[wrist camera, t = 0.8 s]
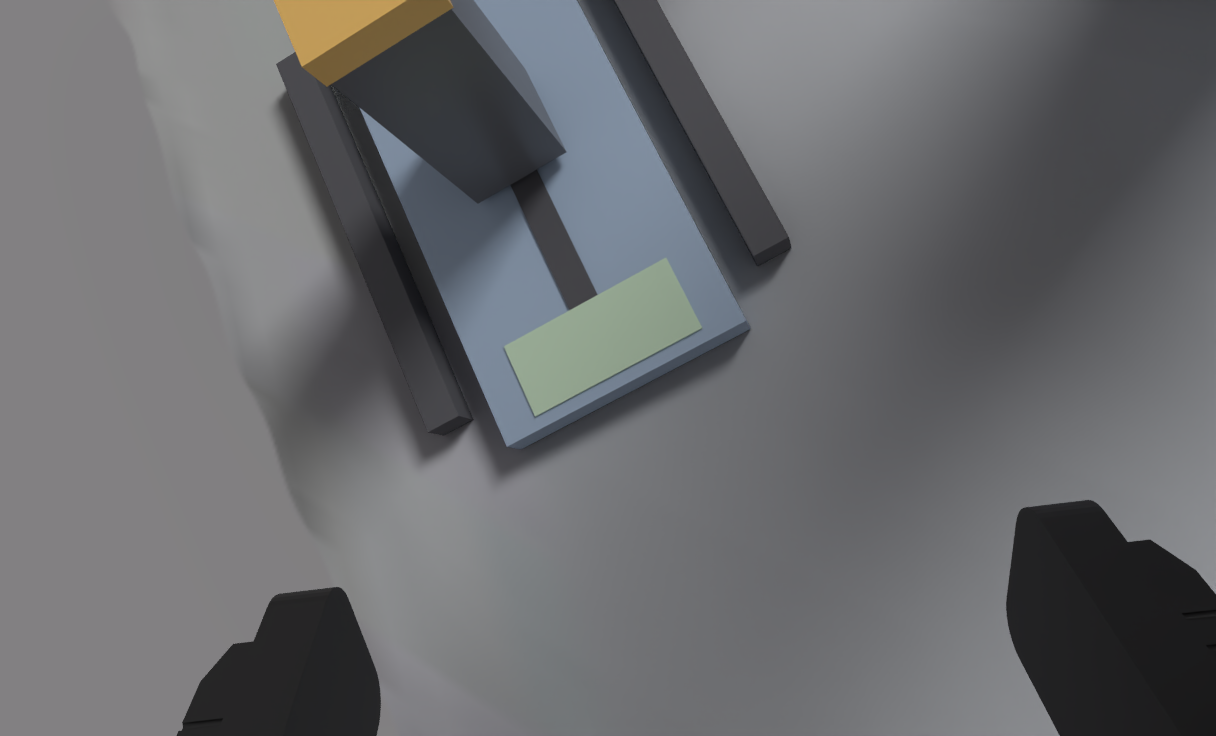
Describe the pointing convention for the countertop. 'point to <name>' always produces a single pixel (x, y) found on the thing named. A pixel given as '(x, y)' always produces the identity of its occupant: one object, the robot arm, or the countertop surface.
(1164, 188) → the countertop surface
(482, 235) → the blue rectangular board
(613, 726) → the countertop surface
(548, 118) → the block
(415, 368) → the dark grey long bar
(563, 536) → the countertop surface
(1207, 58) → the countertop surface
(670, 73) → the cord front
